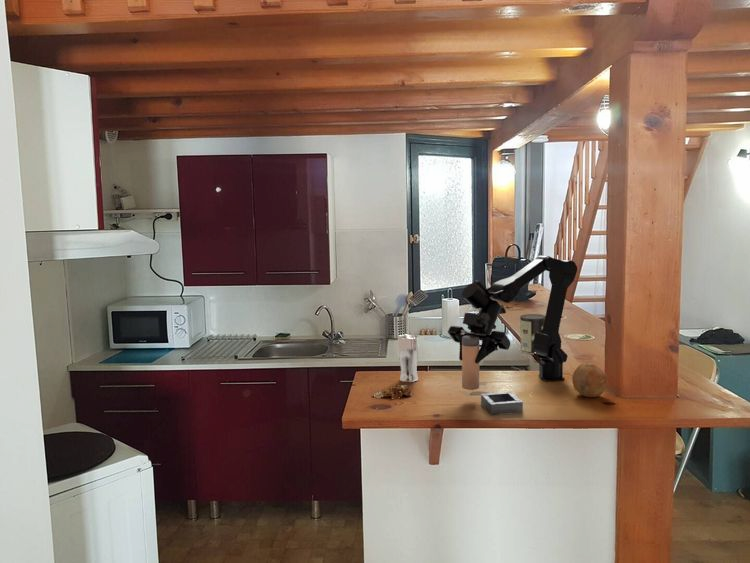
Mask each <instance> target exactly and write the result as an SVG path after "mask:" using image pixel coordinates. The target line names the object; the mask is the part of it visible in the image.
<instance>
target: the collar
mask: <svg viewBox="0 0 750 563" xmlns="http://www.w3.org/2000/svg"><path fill="white" fill-rule="evenodd" d="M523 403H524V402H523V401H522V400H521V399H520V398H519V397H518V396H516V395H515V394H514V393H513V392H511V391H502V392H491V393H489V392H488V393H481V394H480V404H481V405H482V407H483V408H484V409H485V410H486V411H487V412H488V413H489V414H490V415H491V416H495V415H505V414H506V415H508V414H517V413H523V412H524V411H523V410H524V409H523V408H524V407H523V406H524V405H523Z"/></svg>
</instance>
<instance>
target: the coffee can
mask: <svg viewBox="0 0 750 563" xmlns="http://www.w3.org/2000/svg"><path fill="white" fill-rule="evenodd" d="M545 316H546V314H539V313H529V314H528V313H527V314H522V315H520V316H519V320H520V329H519V330H520V335H519V336H520V353H522V354H525V355H530V356H535V355H534V352H535V350H534V348H533V346H534V344H532V343H533V341H534V336H535V333H536V332H538V333H539V332H540V331H541V330H542V329H543V326H544V321H545Z"/></svg>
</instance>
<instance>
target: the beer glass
mask: <svg viewBox="0 0 750 563" xmlns="http://www.w3.org/2000/svg"><path fill="white" fill-rule="evenodd" d="M418 337H419V336H418V335H416V334H409V333H407V334H401V335H398V336H397V356H398V360H399V366H400V377H399V380H400V382H403V383H408V382H409V383H415V381H416V382H417V381H419V377H418V371H417V367H418V366H417V365H418V360H419V340H418V339H419V338H418Z"/></svg>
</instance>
